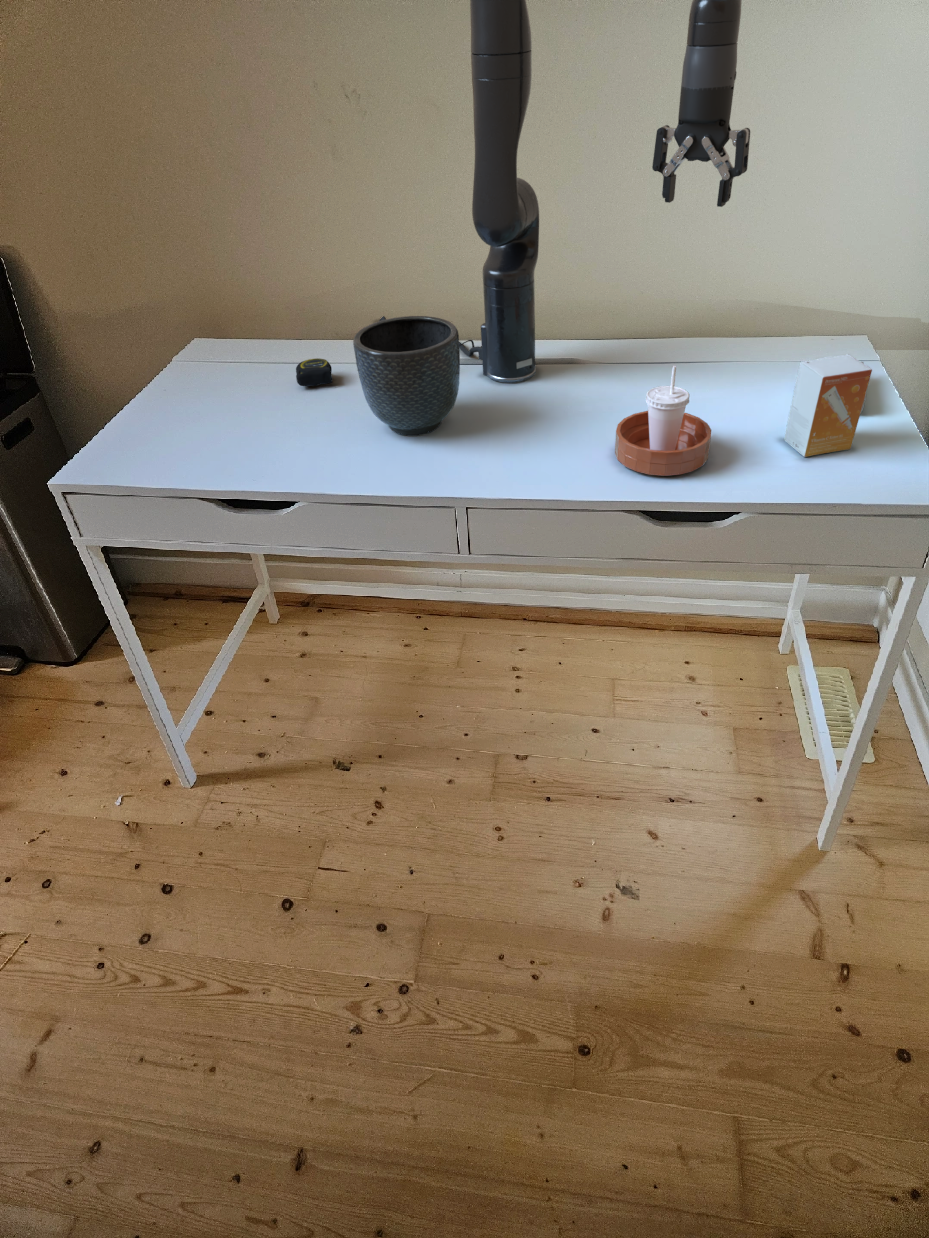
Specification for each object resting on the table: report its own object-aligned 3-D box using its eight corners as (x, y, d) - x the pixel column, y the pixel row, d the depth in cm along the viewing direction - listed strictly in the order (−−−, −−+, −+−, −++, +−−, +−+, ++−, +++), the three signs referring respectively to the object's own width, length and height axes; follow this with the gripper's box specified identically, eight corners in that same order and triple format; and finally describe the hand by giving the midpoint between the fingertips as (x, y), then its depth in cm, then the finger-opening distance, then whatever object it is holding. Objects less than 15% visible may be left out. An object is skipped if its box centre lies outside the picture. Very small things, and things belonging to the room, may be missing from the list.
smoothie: (683, 463, 124) (693, 375, 116) (640, 461, 126) (647, 374, 117) (683, 443, 129) (693, 358, 120) (641, 442, 130) (648, 357, 122)
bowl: (599, 466, 127) (600, 440, 124) (637, 428, 135) (639, 403, 133) (687, 487, 120) (690, 460, 117) (720, 446, 129) (724, 420, 126)
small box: (804, 458, 124) (822, 377, 116) (782, 440, 129) (798, 360, 121) (852, 450, 125) (873, 368, 117) (829, 432, 130) (848, 352, 122)
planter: (349, 441, 139) (333, 349, 129) (392, 399, 151) (381, 312, 141) (441, 453, 133) (432, 358, 123) (479, 408, 145) (473, 318, 135)
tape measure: (298, 391, 156) (294, 373, 154) (299, 377, 162) (295, 359, 159) (333, 387, 157) (330, 369, 154) (333, 373, 162) (330, 355, 160)
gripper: (651, 85, 119) (643, 206, 129) (748, 86, 113) (731, 213, 123) (671, 78, 124) (661, 195, 134) (765, 78, 117) (747, 201, 128)
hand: (695, 203), depth 129 cm, fingers open, 8 cm apart
